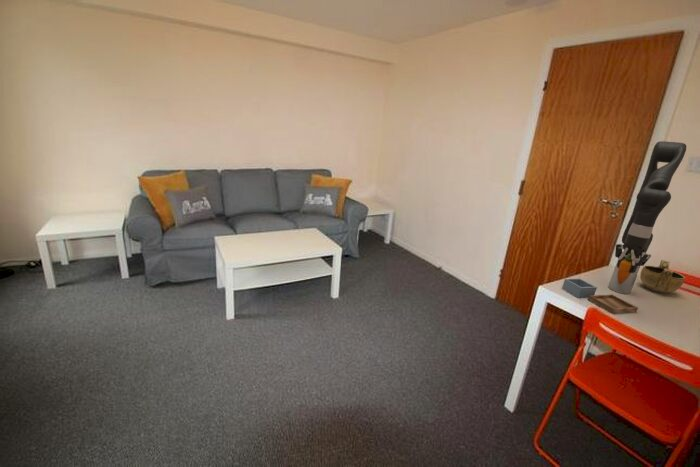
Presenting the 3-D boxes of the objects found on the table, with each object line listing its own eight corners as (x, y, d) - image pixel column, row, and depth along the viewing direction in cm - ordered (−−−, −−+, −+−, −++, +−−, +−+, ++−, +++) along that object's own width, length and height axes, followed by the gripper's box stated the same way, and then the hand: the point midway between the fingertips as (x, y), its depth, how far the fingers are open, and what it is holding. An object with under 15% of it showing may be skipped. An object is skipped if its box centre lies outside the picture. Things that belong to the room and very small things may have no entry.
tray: (610, 298, 164) (612, 294, 163) (636, 312, 153) (638, 307, 152) (587, 299, 160) (589, 295, 159) (612, 314, 149) (614, 309, 148)
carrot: (621, 282, 155) (633, 252, 150) (629, 286, 150) (641, 256, 146) (610, 280, 155) (622, 250, 151) (617, 285, 151) (629, 254, 146)
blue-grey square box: (576, 288, 172) (579, 278, 171) (593, 297, 164) (597, 287, 162) (561, 288, 170) (564, 278, 168) (578, 298, 161) (581, 287, 159)
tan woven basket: (679, 303, 167) (691, 275, 162) (636, 290, 177) (646, 264, 172) (674, 289, 184) (686, 264, 179) (635, 278, 194) (645, 254, 189)
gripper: (663, 240, 140) (647, 277, 145) (628, 229, 153) (616, 263, 158) (650, 240, 138) (635, 277, 143) (616, 229, 151) (603, 263, 156)
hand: (625, 270), depth 151 cm, fingers closed on carrot, 4 cm apart
